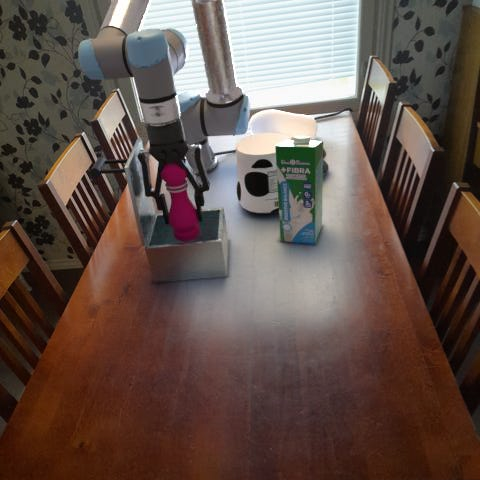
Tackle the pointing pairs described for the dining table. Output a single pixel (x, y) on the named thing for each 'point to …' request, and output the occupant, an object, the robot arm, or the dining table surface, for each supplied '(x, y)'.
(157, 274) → the metal tin
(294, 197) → the milk carton
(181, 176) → the pepper mill
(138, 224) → the box lid
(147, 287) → the dining table surface
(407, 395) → the dining table surface
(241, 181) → the milk container
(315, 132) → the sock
